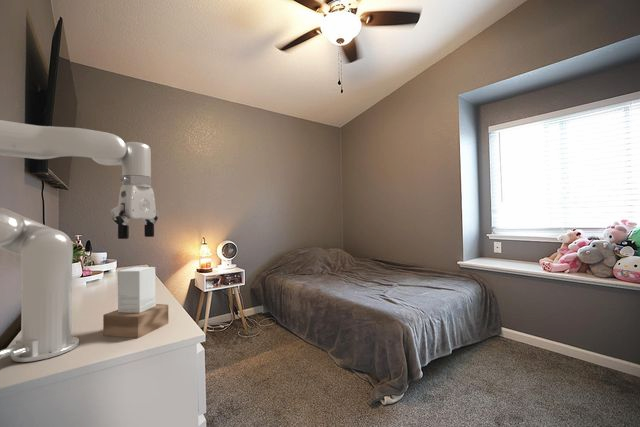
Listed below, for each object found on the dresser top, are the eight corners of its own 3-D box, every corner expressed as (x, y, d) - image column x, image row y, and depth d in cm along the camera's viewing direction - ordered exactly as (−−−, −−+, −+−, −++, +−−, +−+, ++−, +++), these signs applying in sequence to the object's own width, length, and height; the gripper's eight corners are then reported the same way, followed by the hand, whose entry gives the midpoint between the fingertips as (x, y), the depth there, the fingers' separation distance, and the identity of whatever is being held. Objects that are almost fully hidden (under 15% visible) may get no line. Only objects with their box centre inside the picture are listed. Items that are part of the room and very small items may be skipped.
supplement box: (156, 306, 92) (156, 266, 92) (139, 313, 85) (139, 270, 85) (135, 305, 93) (135, 266, 93) (116, 313, 86) (116, 270, 86)
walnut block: (138, 338, 82) (137, 317, 82) (103, 335, 84) (103, 314, 84) (168, 323, 94) (168, 304, 94) (137, 321, 96) (137, 303, 96)
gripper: (122, 178, 81) (122, 239, 80) (167, 185, 97) (167, 236, 97) (100, 179, 82) (100, 239, 82) (148, 186, 99) (148, 236, 99)
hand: (137, 237), depth 89 cm, fingers open, 9 cm apart
